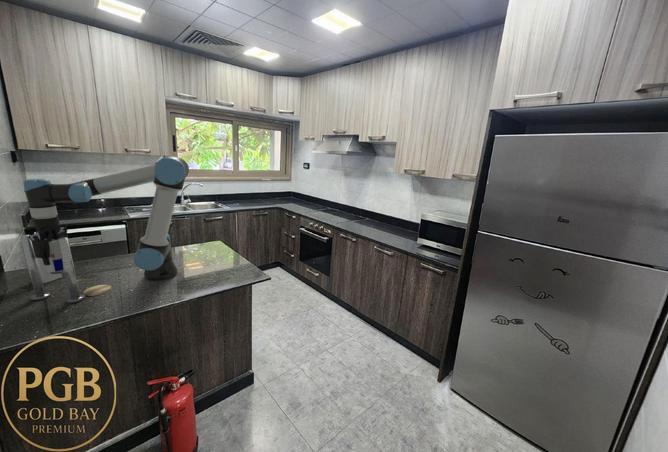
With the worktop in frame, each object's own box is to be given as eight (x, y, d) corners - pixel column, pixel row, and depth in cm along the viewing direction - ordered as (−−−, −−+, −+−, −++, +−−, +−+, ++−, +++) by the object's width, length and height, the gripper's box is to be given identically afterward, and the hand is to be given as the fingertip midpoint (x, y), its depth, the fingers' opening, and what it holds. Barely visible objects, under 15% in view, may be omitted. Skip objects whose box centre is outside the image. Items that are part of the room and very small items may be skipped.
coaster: (116, 286, 131) (116, 285, 131) (98, 296, 121) (98, 295, 121) (97, 285, 131) (96, 284, 131) (77, 295, 122) (76, 294, 121)
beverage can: (58, 269, 120) (50, 237, 116) (72, 269, 121) (64, 237, 117) (46, 274, 115) (38, 241, 111) (61, 274, 115) (52, 241, 111)
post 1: (54, 294, 121) (40, 234, 114) (40, 301, 116) (24, 238, 108) (42, 293, 122) (26, 233, 114) (26, 300, 116) (9, 237, 109)
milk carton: (45, 283, 130) (36, 246, 125) (34, 281, 131) (24, 244, 126) (62, 277, 137) (54, 242, 132) (51, 275, 138) (43, 240, 133)
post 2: (88, 296, 121) (76, 236, 114) (75, 304, 115) (62, 240, 108) (76, 295, 121) (63, 235, 114) (62, 303, 115) (47, 239, 108)
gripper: (58, 211, 120) (69, 260, 126) (10, 221, 102) (26, 277, 108) (74, 212, 119) (85, 261, 125) (29, 222, 102) (44, 278, 108)
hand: (57, 268), depth 117 cm, fingers closed on beverage can, 5 cm apart
